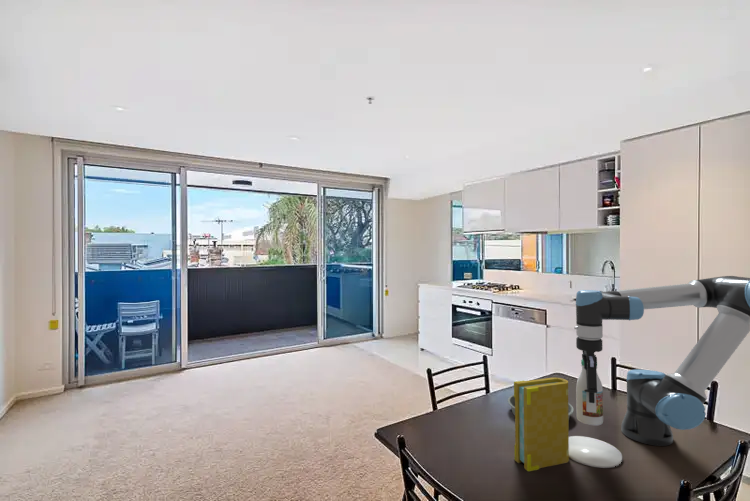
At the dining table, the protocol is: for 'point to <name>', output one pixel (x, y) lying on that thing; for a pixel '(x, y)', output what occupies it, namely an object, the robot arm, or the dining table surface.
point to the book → (541, 422)
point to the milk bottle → (581, 400)
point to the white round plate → (593, 452)
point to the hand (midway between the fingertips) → (589, 406)
